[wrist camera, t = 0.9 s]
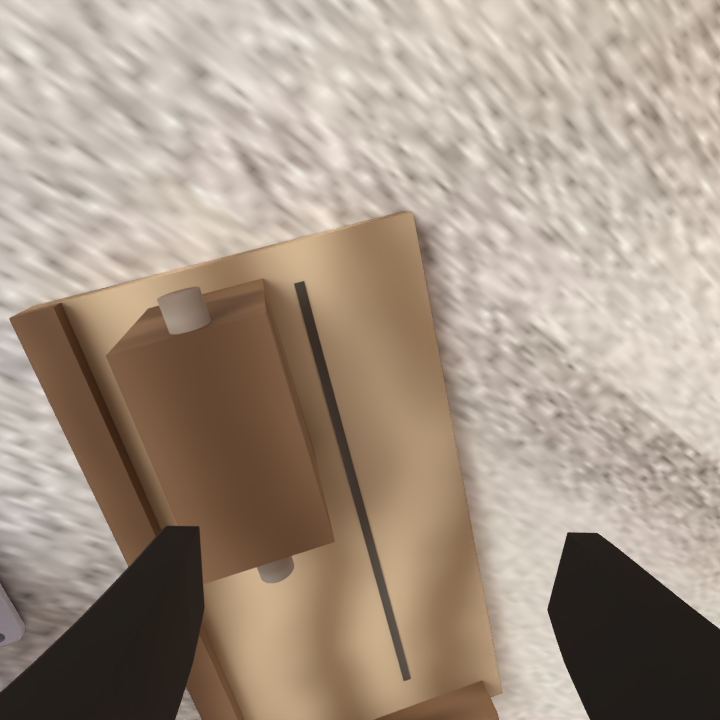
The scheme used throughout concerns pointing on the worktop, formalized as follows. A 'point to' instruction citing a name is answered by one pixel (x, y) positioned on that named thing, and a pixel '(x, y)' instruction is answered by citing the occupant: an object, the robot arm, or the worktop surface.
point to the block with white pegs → (225, 428)
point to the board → (338, 477)
